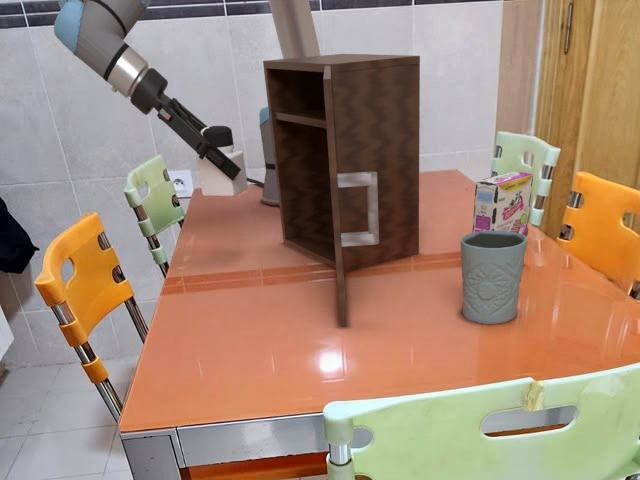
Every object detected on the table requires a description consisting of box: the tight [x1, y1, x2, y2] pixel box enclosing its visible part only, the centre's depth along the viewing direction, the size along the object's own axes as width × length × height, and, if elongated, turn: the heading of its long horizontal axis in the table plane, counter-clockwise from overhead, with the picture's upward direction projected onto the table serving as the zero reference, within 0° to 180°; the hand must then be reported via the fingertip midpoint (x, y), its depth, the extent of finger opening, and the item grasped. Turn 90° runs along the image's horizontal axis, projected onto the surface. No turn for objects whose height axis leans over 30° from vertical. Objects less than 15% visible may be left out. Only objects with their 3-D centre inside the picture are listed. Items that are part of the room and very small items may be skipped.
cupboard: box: [262, 53, 421, 273], centre depth 129 cm, size 18×26×34 cm
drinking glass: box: [460, 231, 528, 325], centre depth 103 cm, size 10×10×12 cm
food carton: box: [472, 171, 534, 238], centre depth 118 cm, size 11×5×16 cm, turn 135°
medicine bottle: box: [195, 125, 249, 197], centre depth 129 cm, size 7×7×12 cm
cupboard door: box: [323, 66, 379, 327], centre depth 105 cm, size 7×26×34 cm, turn 2°
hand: (238, 170), depth 131 cm, fingers closed on medicine bottle, 9 cm apart
